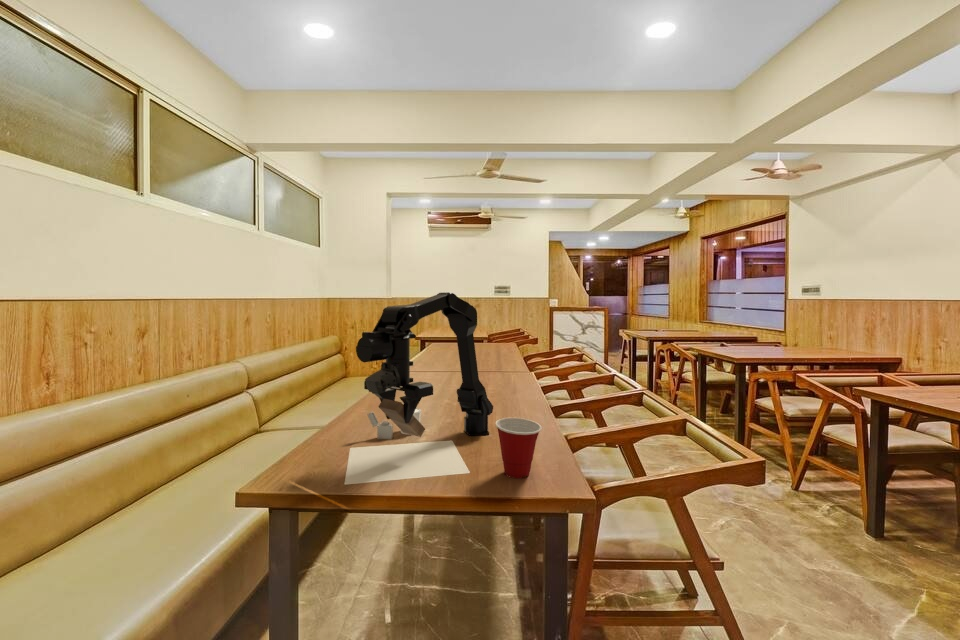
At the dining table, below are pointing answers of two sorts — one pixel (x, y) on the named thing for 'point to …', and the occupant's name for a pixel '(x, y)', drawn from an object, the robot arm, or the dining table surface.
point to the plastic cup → (517, 444)
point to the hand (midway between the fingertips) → (397, 421)
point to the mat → (403, 462)
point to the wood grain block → (401, 417)
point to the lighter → (381, 427)
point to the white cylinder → (417, 415)
